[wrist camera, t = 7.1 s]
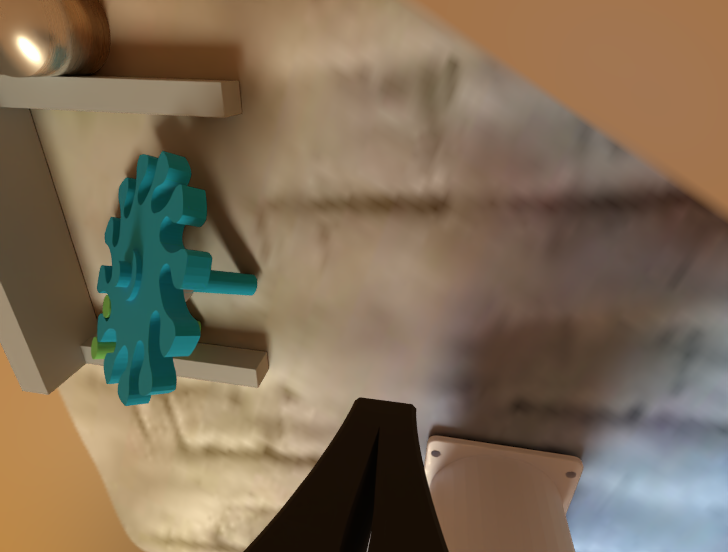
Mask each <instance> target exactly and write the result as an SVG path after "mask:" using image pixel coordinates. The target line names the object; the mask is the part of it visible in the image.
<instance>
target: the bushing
mask: <svg viewBox="0 0 728 552" xmlns="http://www.w3.org/2000/svg"><path fill="white" fill-rule="evenodd" d="M109 50H110V30H109V25H108V21H107V18H106V15H105V12H104V10H103V8H102V6H101V4H100V2H99V1H98V0H0V73H1V74H4V75H7V76H10V77H17V78H19V77H47V76H76V75H89V74H92V73H94V72H96V71H97V70H99V69H100V68H101V67H102V66H103V64H104V63H105V61H106V59H107V57H108V54H109Z"/></svg>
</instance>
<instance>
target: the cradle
mask: <svg viewBox="0 0 728 552" xmlns="http://www.w3.org/2000/svg"><path fill="white" fill-rule="evenodd" d="M29 108H31V109H52V110H73V111H94V112H115V113H136V114H157V115H178V116H199V117H220V118H226V117H230V116H234V115H238V114H242V108H241V98H240V88H239V81H230V80H200V79H171V78H142V77H112V76H83V75H76V76H47V77H19V78H17V77H10V76H7V75H4V74H1V73H0V343H1V345H2V347H3V349H4V352H5V354H6V356H7V358H8V360H9V363H10V365H11V367H12V369H13V371H14V373H15V375H16V378H17V380H18V382H19V384H20V386H21V388H22V391H27V392H34V393H40V394H46V395H48V394H50V393H51V392H53V391H54V390H55V389H56V388H57V387H59V386H60V385H61V384H62V383H63V382H65V381H66V380H67V379H68V378H69V377H70V376H72V375H73V374H74V373H75V372H76V371H78V370H79V369H80V368H81V367H82V366H84V365H85V364H86V363H88V364H94V365H101V366H104V359H92V356H91V345H92V341H93V338H94V337H97V325H98V322H97V319H96V316H95V313H94V309H93V306H92V303H91V300H90V297H89V294H88V291H87V288H86V285H85V281H84V278H83V275H82V272H81V269H80V266H79V263H78V260H77V257H76V253H75V250H74V247H73V244H72V241H71V238H70V235H69V232H68V228H67V225H66V222H65V219H64V216H63V213H62V210H61V207H60V204H59V200H58V197H57V194H56V191H55V188H54V185H53V182H52V179H51V176H50V172H49V169H48V166H47V163H46V160H45V157H44V154H43V151H42V147H41V144H40V141H39V138H38V135H37V132H36V129H35V126H34V123H33V119H32V116H31V113H30V110H29ZM173 362H174V367H175V370H176V376H178V377H185V378H192V379H199V380H206V381H213V382H220V383H227V384H234V385H241V386H248V387H255V388H258V387H259V385H260V384H261V382H262V380H263V378H264V377H265V375H266V373H267V371H268V370H269V367H268V358H267V352H265V351H257V350H249V349H242V348H234V347H226V346H219V345H211V344H203V343H197V345H196V347H195V349H194V350H193V352H192V353H191V354H190V355H189V356H180V357H173Z"/></svg>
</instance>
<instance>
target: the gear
mask: <svg viewBox="0 0 728 552" xmlns="http://www.w3.org/2000/svg"><path fill="white" fill-rule="evenodd" d="M190 178H191V168H190V165H189V163H188V161H187V160H186V158H185V157H182V156H179V155H175V154H172V153H168V152H165V151H162V152H161V154H160V156H159V158H156V157H152V156H149V155H145V154H143V155H140V156H139V159H138V163H137V178H136V179H133V178H129V177H127V178H125V179H124V181H123V182H122V184H121V185H120V187H119V203H120V210H121V218H115V217H111V218H110V220H109V222H108V225H107V228H106V232H105V243H106V244H107V245H108V246H109V248H110V252H111V257H112V266H104V265H102V266H101V268H100V272H99V278H98V285H97V290H98V292H99V293H107V294H108V295H106V296H105V298H104V302H103V313H101V314H100V315H99V317H98V325H97V337H94V338H93V341H92V345H91V356H92V359H104V373H105V379H106V383H107V384H114V383H119V384H118V395H119V398H120V400H121V401H122V403H123V404H124V405H125V406H129V405H137V404H146V403H149V401H150V398H151V395H155V394H164V393H170V392H172V391H174V390H175V389H176V381H177V379H176V370H175V367H174V362H173V357H180V356H189V355H190V354H191V353H192V352H193V350H194V349H195V347H196V345H197V343H198V341H199V338H200V336H201V334H200V331H201V323H200V321H197V320H196V319H194V318H193V317H192V315H191V314H190V312H189V310H188V308H187V305H186V302H187V300H188V299H189V298H190V297H191V295H192V294H193V292H206V293H221V294H237V295H253V294H254V293H255V291H256V289H257V279H256V277H255V275H252V274H242V273H233V272H223V271H214V270H211V264H212V256H211V255H210V253H208V252H203V251H195V250H188V249H185V247H184V246H183V241H182V235H183V230H184V227H185V225H190V226H196V227H201V226H202V225H203V224H204V223H205V221H206V216H207V201H206V192H205V190H201V189H197V188H193V187H189V186H187V185H188V183H189V181H190Z"/></svg>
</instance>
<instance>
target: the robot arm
mask: <svg viewBox="0 0 728 552" xmlns="http://www.w3.org/2000/svg"><path fill="white" fill-rule="evenodd" d="M434 450H437V451H434ZM569 471H571V472H569ZM582 471H583V464H582V461H581V459H579V458H578V457H575V456H570V455H563V454H557V453H550V452H544V451H537V450H530V449H524V448H517V447H510V446H504V445H497V444H491V443H484V442H477V441H471V440H464V439H457V438H451V437H444V436H436V435H434V436H431V437H430V438H429V439H428V442H427V450H426V458H425V465H423V461H422V456H421V451H420V445H419V440H418V433H417V422H416V408H415V407H414V406H413V405H412V404H406V403H398V402H391V401H383V400H376V399H368V398H358V399H357V400H355V402H354V404H353V406H352V408H351V410H350V412H349V414H348V415H347V417H346V419H345V421H344V422H343V424H342V426H341V427H340V429H339V431H338V432H337V434H336V435H335V437H334V438H333V440H332V441H331V443H330V445H329V446H328V447H327V449H326V450H325V452H324V453H323V455H322V456H321V457H320V459H319V460H318V462H317V463H316V465H315V466H314V467H313V469H312V470H311V472H310V473H309V474H308V476H307V477H306V478H305V480H304V481H303V482H302V483H301V485H300V486H299V487H298V489H297V490H296V491H295V492H294V494H293V495H292V496H291V497H290V499H289V500H288V501H287V503H286V504H285V505H284V506H283V508H282V509H281V510H280V511H279V512H278V513H277V515H276V516H275V517H274V518H273V519H272V521H271V522H270V523H269V524H268V525H267V526H266V527H265V529H264V530H263V531H262V532H261V533H260V534H259V535H258V536H257V538H256V539H255V540H254V541H253V542H252V543H251V544H250V545H249V546H248V547H247V549H246V550H245V551H244V552H366V551H367V547H368V543H369V539H370V543H369V548H368V552H575V549H574V545H573V542H572V538H571V534H570V530H569V527H568V523H567V519H566V512H567V510H568V507H569V505H570V502H571V499H572V497H573V494H574V492H575V489H576V487H577V484H578V481H579V479H580V476H581V474H582ZM370 534H371V537H370Z"/></svg>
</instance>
